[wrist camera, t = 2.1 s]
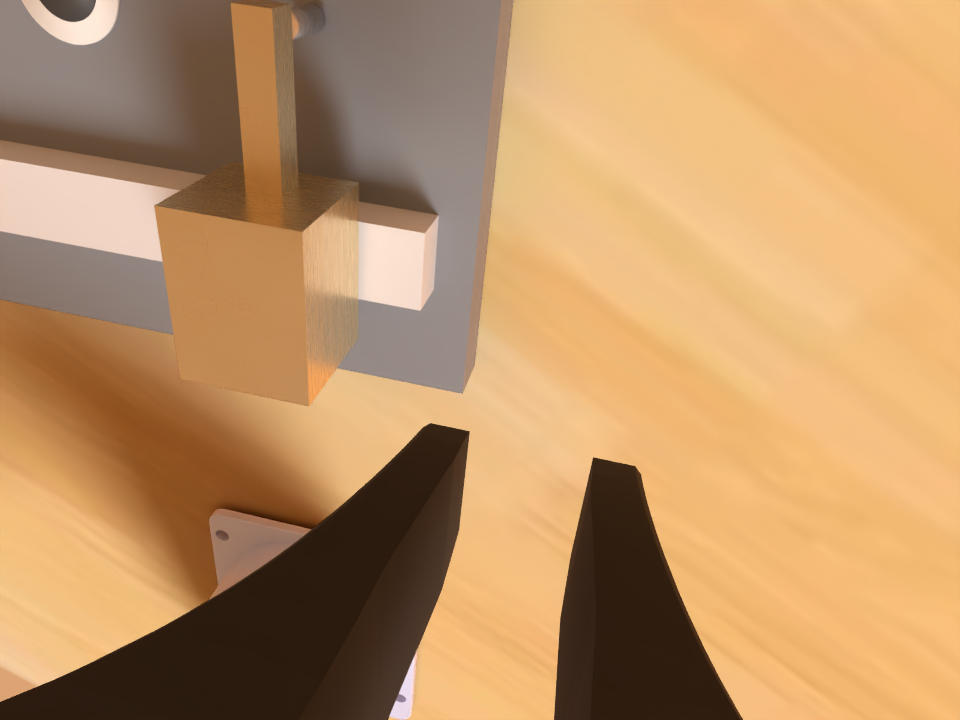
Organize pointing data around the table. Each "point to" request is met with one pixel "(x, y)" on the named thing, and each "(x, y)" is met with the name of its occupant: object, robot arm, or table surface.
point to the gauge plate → (217, 141)
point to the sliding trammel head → (263, 237)
